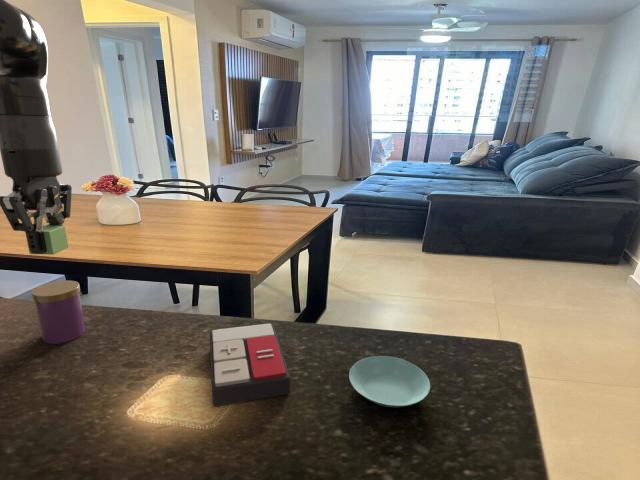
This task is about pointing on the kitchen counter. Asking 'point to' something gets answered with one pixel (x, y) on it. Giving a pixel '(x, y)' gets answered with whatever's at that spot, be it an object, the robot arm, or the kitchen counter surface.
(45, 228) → the cube
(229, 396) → the calculator
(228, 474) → the kitchen counter surface
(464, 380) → the kitchen counter surface
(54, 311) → the jar
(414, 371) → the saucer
